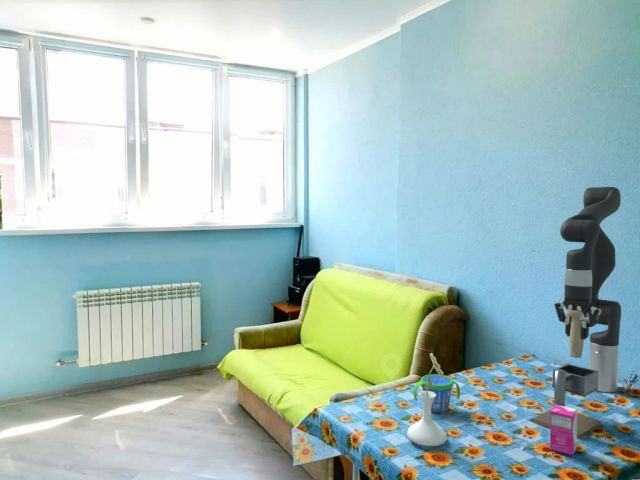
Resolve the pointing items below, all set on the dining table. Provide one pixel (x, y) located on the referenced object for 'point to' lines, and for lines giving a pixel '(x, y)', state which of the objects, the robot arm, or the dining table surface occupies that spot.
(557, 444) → the supplement box
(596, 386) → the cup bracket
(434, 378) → the snack cup
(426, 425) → the flower in vase
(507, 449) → the dining table surface
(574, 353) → the handle
